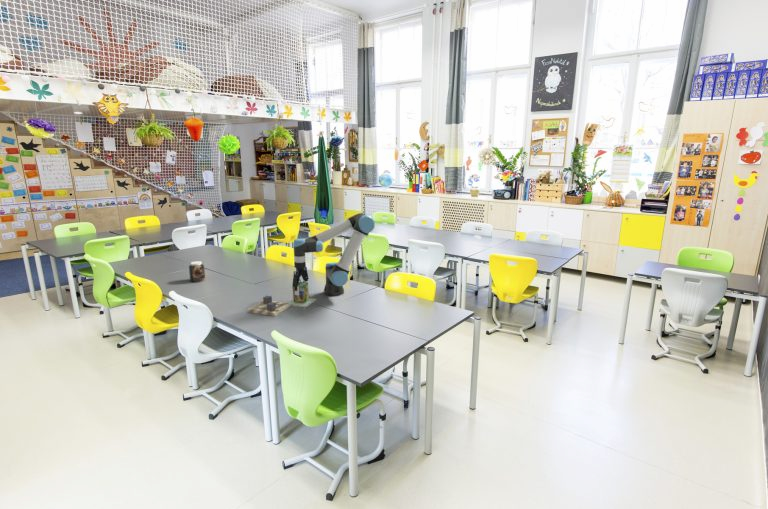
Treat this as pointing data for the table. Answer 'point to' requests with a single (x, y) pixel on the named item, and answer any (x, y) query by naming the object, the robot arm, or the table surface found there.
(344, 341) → the table surface
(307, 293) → the chalk box
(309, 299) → the mat
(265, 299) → the switch
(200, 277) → the jar
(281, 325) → the table surface
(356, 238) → the robot arm
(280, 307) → the switch panel
